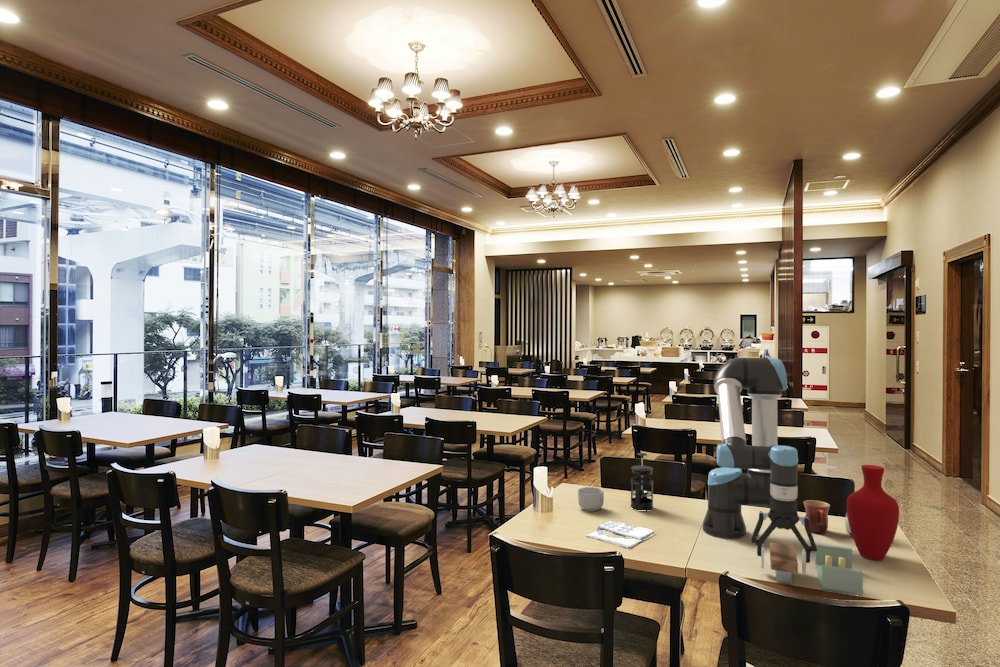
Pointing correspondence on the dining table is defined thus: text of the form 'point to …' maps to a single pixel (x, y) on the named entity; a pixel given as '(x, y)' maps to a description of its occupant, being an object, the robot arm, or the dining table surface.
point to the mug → (817, 515)
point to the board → (783, 558)
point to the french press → (640, 495)
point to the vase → (872, 515)
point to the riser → (783, 577)
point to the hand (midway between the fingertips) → (782, 569)
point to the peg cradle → (837, 570)
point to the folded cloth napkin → (622, 533)
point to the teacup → (590, 498)
